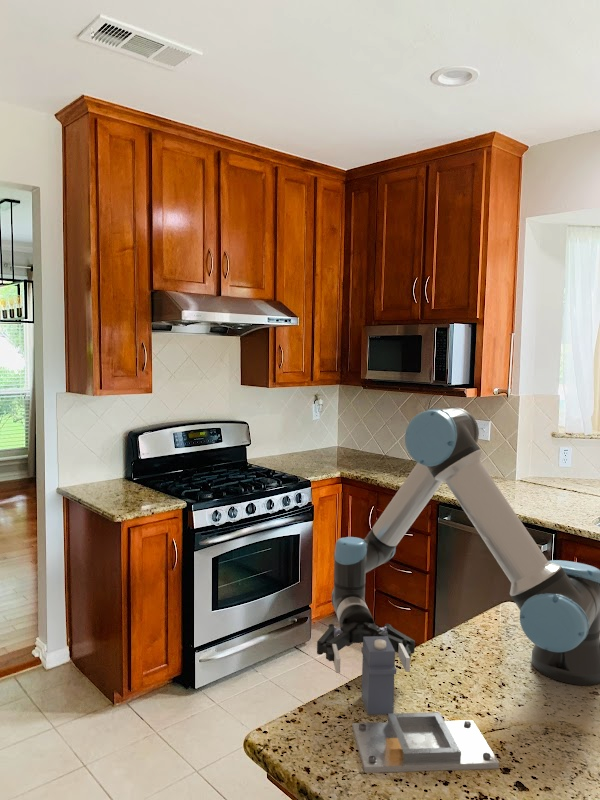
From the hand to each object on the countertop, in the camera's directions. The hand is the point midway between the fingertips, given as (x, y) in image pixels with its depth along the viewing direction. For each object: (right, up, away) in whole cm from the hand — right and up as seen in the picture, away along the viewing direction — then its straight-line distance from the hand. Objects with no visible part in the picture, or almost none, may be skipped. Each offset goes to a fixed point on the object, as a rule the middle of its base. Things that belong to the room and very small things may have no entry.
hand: (373, 665), depth 120 cm
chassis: (+7, -8, -14) cm, 17 cm away
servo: (+1, -7, -1) cm, 7 cm away
